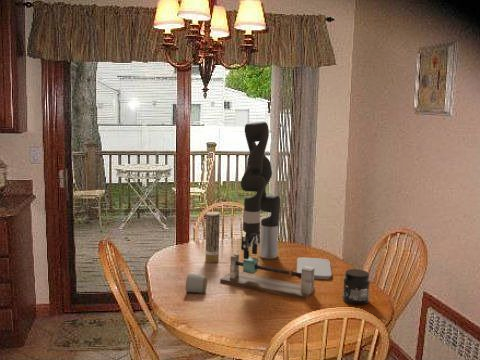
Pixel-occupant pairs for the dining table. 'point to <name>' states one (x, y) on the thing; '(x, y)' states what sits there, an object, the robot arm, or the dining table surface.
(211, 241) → the paper tube
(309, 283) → the stand
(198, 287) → the ceramic mug
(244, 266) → the sleeve
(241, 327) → the dining table surface
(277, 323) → the dining table surface
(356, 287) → the supplement container
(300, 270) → the tablet
